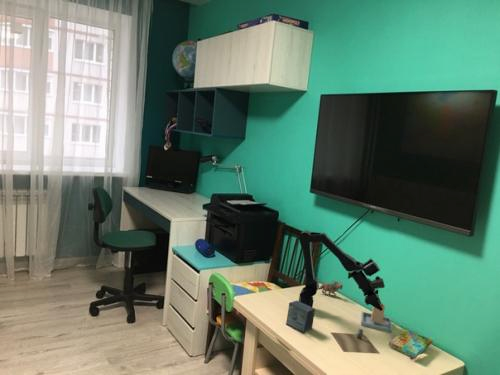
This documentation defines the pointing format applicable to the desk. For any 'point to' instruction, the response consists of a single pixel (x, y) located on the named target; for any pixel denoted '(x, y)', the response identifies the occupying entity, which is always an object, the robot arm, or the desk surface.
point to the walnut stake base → (354, 342)
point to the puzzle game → (410, 343)
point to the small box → (300, 316)
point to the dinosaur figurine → (331, 287)
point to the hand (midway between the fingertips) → (381, 308)
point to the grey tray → (368, 323)
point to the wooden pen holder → (378, 314)
